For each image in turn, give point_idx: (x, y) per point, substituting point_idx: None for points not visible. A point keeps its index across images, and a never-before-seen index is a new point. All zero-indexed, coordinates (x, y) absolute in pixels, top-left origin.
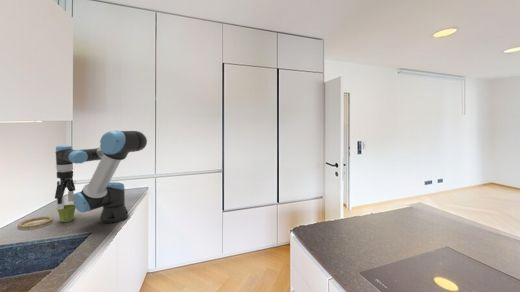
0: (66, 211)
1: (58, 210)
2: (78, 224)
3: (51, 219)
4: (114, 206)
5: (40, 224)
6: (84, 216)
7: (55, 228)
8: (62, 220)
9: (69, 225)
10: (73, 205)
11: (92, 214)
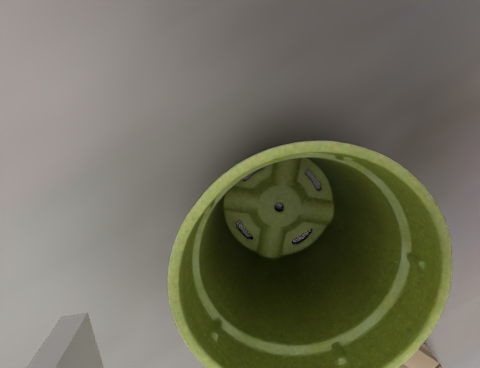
0: (407, 212)
1: (404, 326)
2: (429, 9)
3: None
4: None
5: (425, 352)
6: (173, 75)
7: (475, 194)
8: (341, 222)
9: (432, 99)
10: (190, 236)
11: (108, 3)
